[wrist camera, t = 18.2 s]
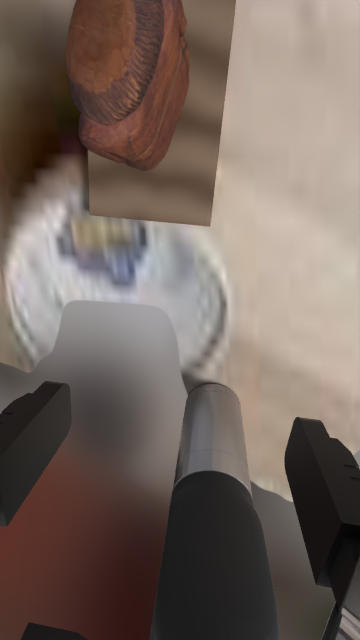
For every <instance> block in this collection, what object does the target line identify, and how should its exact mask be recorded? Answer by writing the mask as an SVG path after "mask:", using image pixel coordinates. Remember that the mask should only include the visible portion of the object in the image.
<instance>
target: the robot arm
mask: <svg viewBox="0 0 360 640" xmlns="http://www.w3.org/2000/svg"><path fill="white" fill-rule="evenodd" d="M70 426H71V402H70V388H69V385H68V384H65V383H57V382H50V381H45V382H44V383H43V384H42V385H41V386H40V387H39V388H38V389H37V390H36V391H35V392H34V393H33V394H31V393H27V394H25V395H24V396H22V397H20V398H18V399H16V400H14V401H13V402H12V403H11V404H9V405H8V406H7V407H6V408H5V409H4V410H3V411H2V414H0V525H3V526H8V524H9V523H10V521H11V520H12V518H13V517H14V515H15V514H16V512H17V511H18V509H19V508H20V506H21V505H22V503H23V502H24V500H25V498H26V497H27V496H28V494H29V492H30V491H31V489H32V488H33V486H34V485H35V483H36V482H37V480H38V479H39V477H40V476H41V474H42V473H43V471H44V470H45V468H46V467H47V465H48V464H49V462H50V460H51V459H52V457H53V456H54V455H55V453H56V452H57V450H58V448H59V447H60V445H61V444H62V442H63V441H64V439H65V438H66V436H67V434H68V432H69V429H70ZM285 471H286V475H287V479H288V482H289V486H290V490H291V494H292V497H293V501H294V505H295V508H296V512H297V516H298V520H299V524H300V527H301V531H302V535H303V539H304V542H305V546H306V549H307V553H308V557H309V561H310V565H311V568H312V572H313V576H314V579H315V583H316V585H320V586H325V587H331V588H332V590H333V593H334V597H335V600H336V602H335V604H334V607H333V609H332V612H331V614H330V618H329V620H328V623H327V626H326V628H325V631H324V634H323V636H322V639H321V640H360V470H359V466H358V464H357V462H356V460H355V459H354V457H353V455H352V453H351V452H350V451H349V450H348V449H347V448H346V447H345V446H344V445H343V444H342V443H341V442H340V441H339V440H338V439H336V438H330V437H329V435H328V433H327V431H326V429H325V427H324V425H323V423H322V422H321V421H320V420H314V419H307V418H300V417H296V418H295V420H294V423H293V426H292V430H291V433H290V437H289V440H288V444H287V448H286V451H285ZM21 640H88V639H86V638H85V637H83V636H81V635H80V634H79V633H77V632H72V631H67V630H63V629H58V628H53V627H48V626H44V625H38V624H34V623H28V625H27V627H26V629H25V632H24V634H23V637H22V638H21ZM149 640H279V631H278V619H277V610H276V603H275V596H274V590H273V584H272V578H271V572H270V567H269V562H268V556H267V550H266V545H265V540H264V534H263V529H262V525H261V522H260V519H259V517H258V515H257V513H256V511H255V510H254V508H253V501H252V494H251V485H250V478H249V470H248V462H247V454H246V446H245V438H244V431H243V422H242V414H241V406H240V402H239V399H238V397H237V395H236V394H235V393H234V392H233V391H232V390H230V389H229V388H227V387H225V386H223V385H219V384H205V385H202V386H199V387H197V388H195V389H194V390H193V391H192V392H191V393H190V394H189V396H188V398H187V401H186V406H185V413H184V418H183V425H182V431H181V438H180V445H179V451H178V457H177V464H176V470H175V478H174V484H173V491H172V497H171V503H170V509H169V518H168V525H167V531H166V537H165V544H164V551H163V556H162V563H161V569H160V575H159V582H158V588H157V595H156V602H155V609H154V615H153V621H152V627H151V633H150V639H149Z"/></svg>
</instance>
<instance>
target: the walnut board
mask: <svg viewBox="0 0 360 640" xmlns="http://www.w3.org/2000/svg"><path fill="white" fill-rule="evenodd" d="M181 1H182V5H183V10H184V15H185V18H186V20H187V27H186V31H185V34H184V37H185V39H186V42H187V45H188V49H189V58H190V67H189V88H188V92H187V96H186V99H185V103H184V106H183V109H182V111H181V114H180V116H179V119H178V121H177V124H176V127H175V130H174V133H173V136H172V139H171V143H170V146H169V148H168V151H167V153H166V155H165V157H164V158H163V159H162V161H161V162H160V163H159V164H158V165H157V166H156V167H155V168H154V169H152V170H149V171H144V172H143V171H141V170H139V169H136V168H133V167H130V166H129V165H127V164H126V163H125V162H124V163H117V162H114V161H112V160H109V159H107V158H104V157H101V156H99V155H97V154H95V153H93V152H91V151H89V150H88V176H89V212H90V215H94V216H105V217H116V218H126V219H137V220H147V221H158V222H168V223H179V224H190V225H200V226H210V222H211V213H212V204H213V196H214V187H215V178H216V170H217V161H218V153H219V144H220V135H221V127H222V118H223V109H224V101H225V92H226V83H227V75H228V66H229V57H230V49H231V40H232V31H233V23H234V14H235V4H236V0H181Z"/></svg>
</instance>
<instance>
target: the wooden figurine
mask: <svg viewBox="0 0 360 640" xmlns="http://www.w3.org/2000/svg"><path fill="white" fill-rule="evenodd" d="M186 27H187V20H186V18H185V15H184V10H183V5H182V1H181V0H77V1H76V3H75V6H74V8H73V13H72V17H71V21H70V26H69V33H68V37H67V43H66V51H65V60H66V69H67V76H68V84H69V90H70V93H71V96H72V98H73V101H74V104H75V106H76V108H77V109H78V110H79V111H80V112H81V115H80V118H79V129H78V132H79V138H80V141H81V143H82V144H83V146H84V147H86V148H87V149H88V150H89V151H91V152H93V153H95V154H97V155H99V156H101V157H104V158H107V159H109V160H112V161H114V162H117V163H124V162H125V163H126V164H127V165H129V166H130V167H133V168H136V169H139V170H141V171H143V172H144V171H149V170H152V169H154V168H155V167H156V166H157V165H158V164H159V163H160V162H161V161H162V159H163V158H164V157H165V155H166V153H167V151H168V148H169V146H170V143H171V139H172V136H173V133H174V130H175V127H176V124H177V121H178V119H179V116H180V114H181V111H182V109H183V106H184V103H185V99H186V96H187V92H188V88H189V67H190V58H189V49H188V45H187V42H186V39H185V37H184V34H185V31H186Z"/></svg>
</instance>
